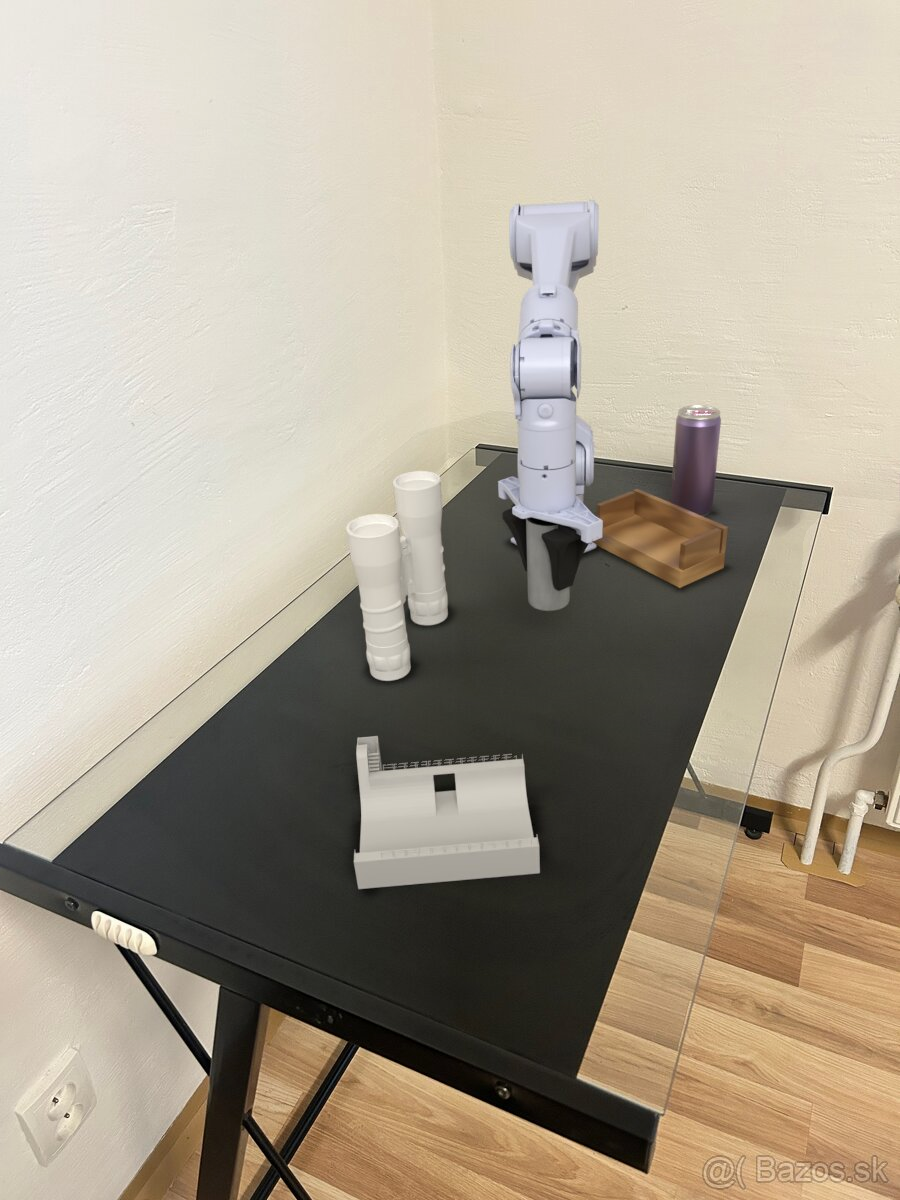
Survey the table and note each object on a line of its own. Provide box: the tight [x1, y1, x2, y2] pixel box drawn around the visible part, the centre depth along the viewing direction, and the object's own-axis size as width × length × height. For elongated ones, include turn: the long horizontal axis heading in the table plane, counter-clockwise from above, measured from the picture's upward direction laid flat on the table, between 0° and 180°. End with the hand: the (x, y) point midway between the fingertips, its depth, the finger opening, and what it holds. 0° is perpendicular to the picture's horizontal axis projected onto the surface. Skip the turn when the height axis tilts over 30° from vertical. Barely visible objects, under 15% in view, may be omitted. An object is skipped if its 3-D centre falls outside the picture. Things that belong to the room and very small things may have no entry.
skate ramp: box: [353, 735, 541, 890], centre depth 77 cm, size 15×13×5 cm
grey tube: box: [526, 517, 571, 612], centre depth 94 cm, size 4×4×10 cm
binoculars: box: [345, 470, 449, 682], centre depth 99 cm, size 17×5×18 cm, turn 159°
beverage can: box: [669, 404, 722, 517], centre depth 125 cm, size 6×6×15 cm
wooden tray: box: [593, 488, 729, 589], centre depth 116 cm, size 16×8×6 cm, turn 34°
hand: (548, 577), depth 95 cm, fingers closed on grey tube, 4 cm apart
